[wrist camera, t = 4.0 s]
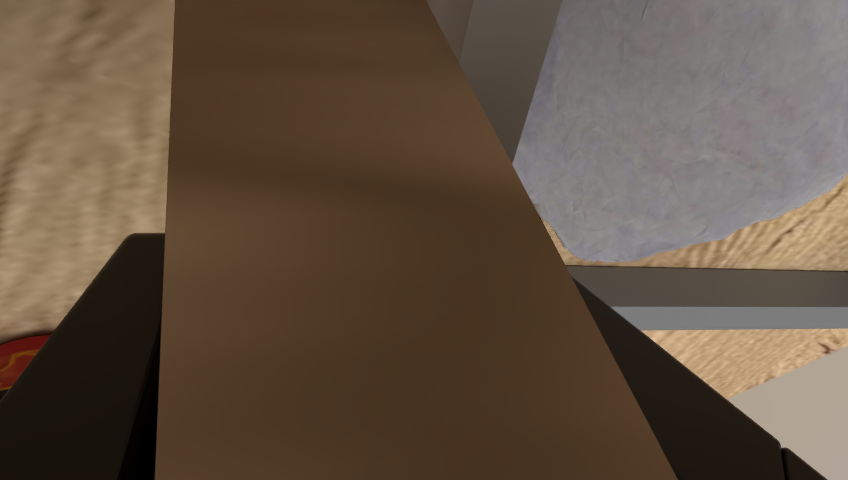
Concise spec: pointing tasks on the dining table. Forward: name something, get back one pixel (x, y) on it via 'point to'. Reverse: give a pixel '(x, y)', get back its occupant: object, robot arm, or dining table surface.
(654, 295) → the frame
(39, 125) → the dining table surface
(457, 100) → the block
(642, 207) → the stone block
